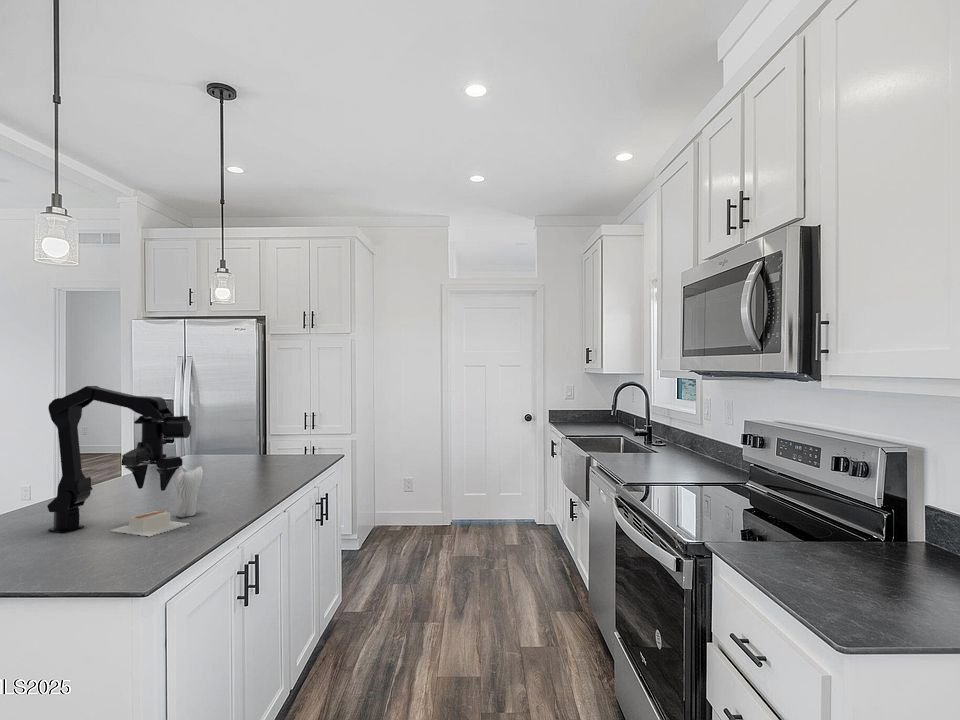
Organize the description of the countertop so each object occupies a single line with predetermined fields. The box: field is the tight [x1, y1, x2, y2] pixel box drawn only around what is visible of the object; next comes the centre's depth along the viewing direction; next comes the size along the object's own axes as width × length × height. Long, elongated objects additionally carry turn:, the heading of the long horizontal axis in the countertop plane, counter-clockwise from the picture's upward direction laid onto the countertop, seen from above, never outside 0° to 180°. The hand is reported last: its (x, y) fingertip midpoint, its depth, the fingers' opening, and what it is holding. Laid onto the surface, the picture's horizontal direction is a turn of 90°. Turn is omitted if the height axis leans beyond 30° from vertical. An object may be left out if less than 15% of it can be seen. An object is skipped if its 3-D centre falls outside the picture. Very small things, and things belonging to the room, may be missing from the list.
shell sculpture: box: [172, 463, 204, 518], centre depth 185 cm, size 8×8×18 cm
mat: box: [109, 520, 190, 538], centre depth 170 cm, size 16×14×1 cm
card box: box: [128, 509, 171, 532], centre depth 170 cm, size 9×6×4 cm, turn 158°
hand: (151, 489), depth 170 cm, fingers open, 9 cm apart
